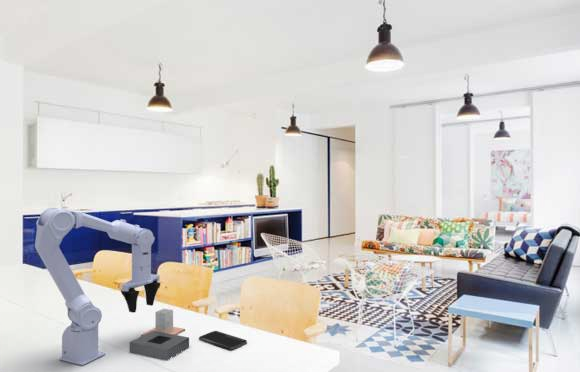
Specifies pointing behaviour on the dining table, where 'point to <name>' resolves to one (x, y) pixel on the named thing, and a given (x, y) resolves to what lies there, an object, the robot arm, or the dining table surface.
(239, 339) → the phone
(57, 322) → the dining table surface
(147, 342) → the socket plate
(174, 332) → the mat
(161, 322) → the steel peg
